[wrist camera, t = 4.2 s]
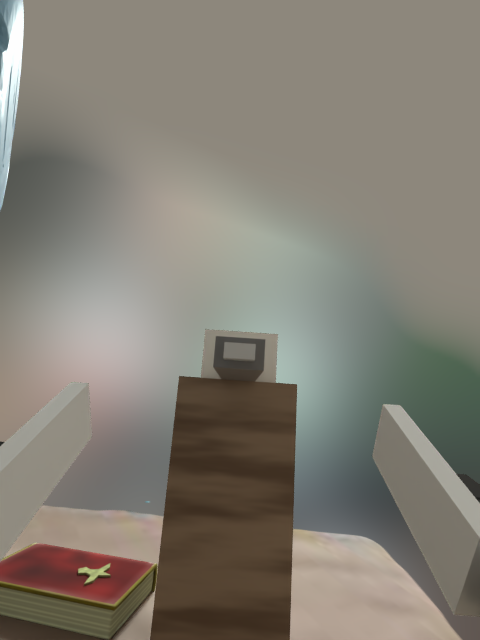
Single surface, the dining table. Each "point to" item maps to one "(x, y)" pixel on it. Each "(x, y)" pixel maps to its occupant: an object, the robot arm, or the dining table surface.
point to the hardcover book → (73, 588)
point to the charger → (239, 356)
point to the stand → (228, 513)
